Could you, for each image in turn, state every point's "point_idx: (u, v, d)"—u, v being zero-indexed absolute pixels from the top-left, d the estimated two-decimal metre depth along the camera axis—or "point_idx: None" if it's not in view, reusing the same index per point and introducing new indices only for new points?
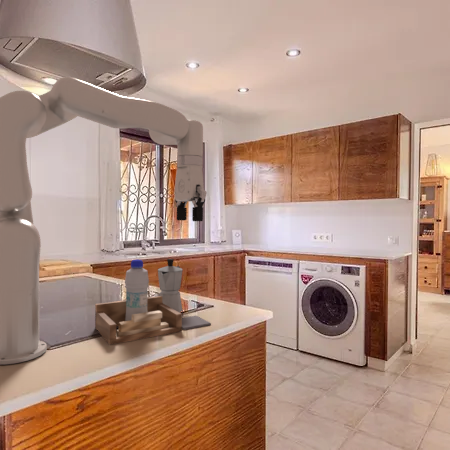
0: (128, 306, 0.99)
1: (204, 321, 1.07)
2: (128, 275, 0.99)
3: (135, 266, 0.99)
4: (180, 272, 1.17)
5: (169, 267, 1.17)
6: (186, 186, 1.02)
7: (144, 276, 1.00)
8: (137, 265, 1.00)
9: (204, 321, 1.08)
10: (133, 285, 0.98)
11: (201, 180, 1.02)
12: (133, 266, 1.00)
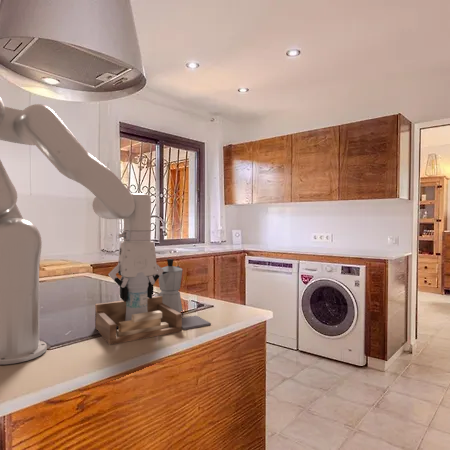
0: (128, 306, 0.99)
1: (204, 321, 1.07)
2: None
3: None
4: (180, 272, 1.17)
5: (169, 267, 1.17)
6: (150, 262, 1.01)
7: (144, 276, 1.00)
8: None
9: (204, 321, 1.08)
10: (133, 285, 0.98)
11: None
12: None
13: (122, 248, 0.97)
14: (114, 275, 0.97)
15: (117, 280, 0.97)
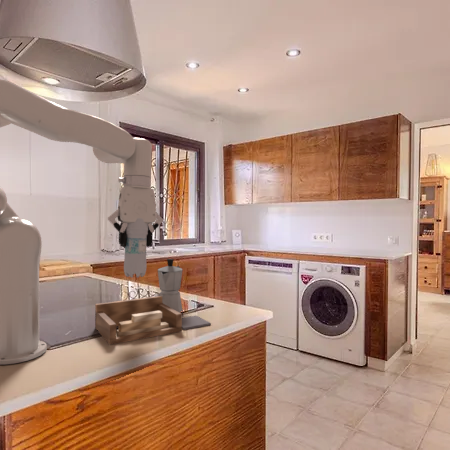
0: (127, 252, 0.98)
1: (204, 321, 1.07)
2: None
3: None
4: (180, 272, 1.17)
5: (169, 267, 1.17)
6: (150, 209, 1.00)
7: (143, 222, 0.99)
8: None
9: (204, 321, 1.08)
10: (132, 230, 0.97)
11: None
12: None
13: (122, 192, 0.97)
14: (113, 219, 0.96)
15: (116, 224, 0.97)
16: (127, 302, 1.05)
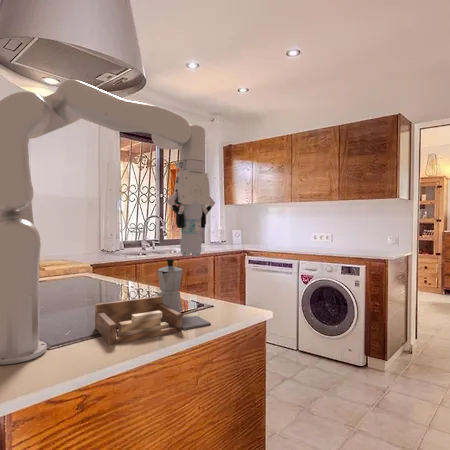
0: (184, 233, 1.04)
1: (204, 321, 1.07)
2: None
3: None
4: (180, 272, 1.17)
5: (169, 267, 1.17)
6: (205, 192, 1.05)
7: (199, 204, 1.04)
8: None
9: (204, 321, 1.08)
10: (189, 211, 1.03)
11: None
12: None
13: (179, 176, 1.02)
14: (172, 202, 1.02)
15: (175, 207, 1.02)
16: (127, 302, 1.05)
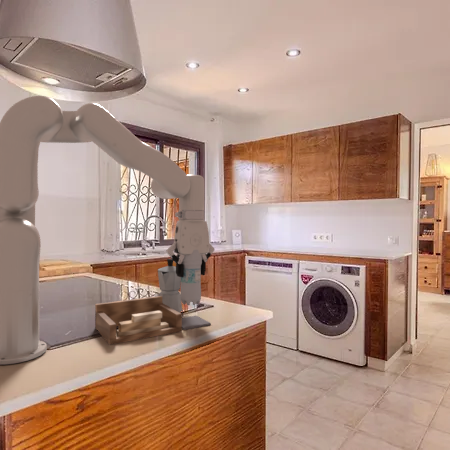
0: (184, 282, 1.05)
1: (204, 321, 1.07)
2: None
3: None
4: None
5: (169, 267, 1.17)
6: (204, 240, 1.06)
7: (199, 253, 1.05)
8: None
9: (204, 321, 1.08)
10: (189, 261, 1.03)
11: None
12: None
13: (179, 226, 1.03)
14: (171, 252, 1.03)
15: (174, 257, 1.03)
16: (127, 302, 1.05)
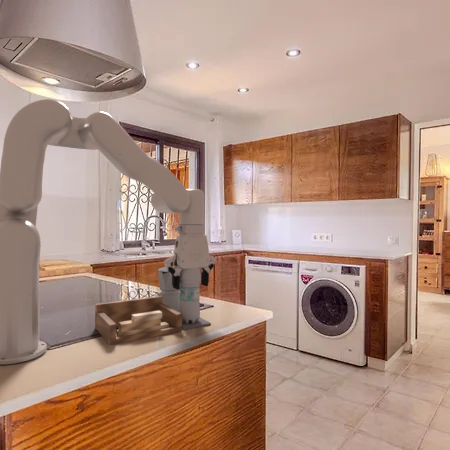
0: (183, 300, 1.05)
1: (204, 321, 1.07)
2: (183, 270, 1.04)
3: None
4: None
5: None
6: (204, 254, 1.06)
7: (198, 271, 1.05)
8: None
9: (204, 321, 1.08)
10: (188, 280, 1.04)
11: None
12: None
13: (179, 241, 1.03)
14: (169, 263, 1.02)
15: (170, 269, 1.02)
16: (127, 302, 1.05)
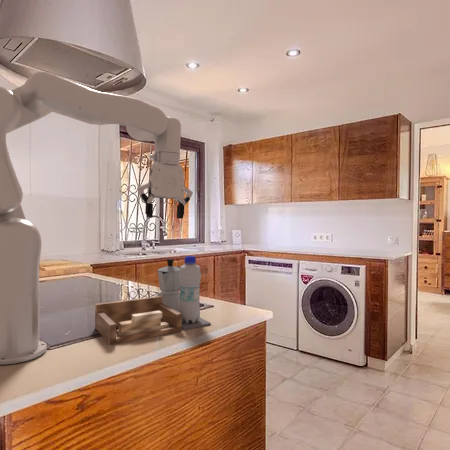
0: (183, 300, 1.05)
1: (204, 321, 1.07)
2: (183, 270, 1.04)
3: (189, 262, 1.05)
4: None
5: (169, 267, 1.17)
6: (179, 184, 1.05)
7: (198, 271, 1.05)
8: (191, 261, 1.05)
9: (204, 321, 1.08)
10: (188, 280, 1.04)
11: None
12: (187, 262, 1.05)
13: (153, 168, 1.02)
14: (142, 190, 1.01)
15: (143, 195, 1.01)
16: (127, 302, 1.05)
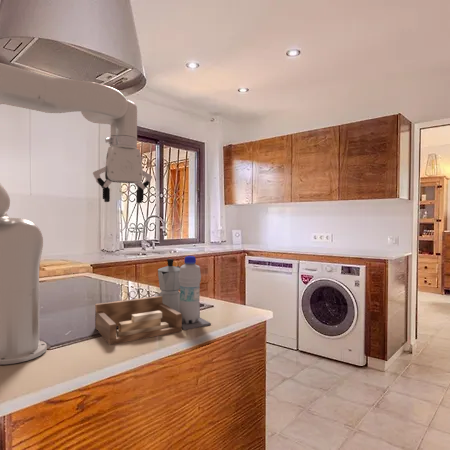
0: (183, 300, 1.05)
1: (204, 321, 1.07)
2: (183, 270, 1.04)
3: (189, 262, 1.05)
4: None
5: (169, 267, 1.17)
6: (136, 168, 1.04)
7: (198, 271, 1.05)
8: (191, 261, 1.05)
9: (204, 321, 1.08)
10: (188, 280, 1.04)
11: None
12: (187, 262, 1.05)
13: (109, 152, 1.01)
14: (98, 174, 1.00)
15: (99, 180, 1.00)
16: (127, 302, 1.05)
